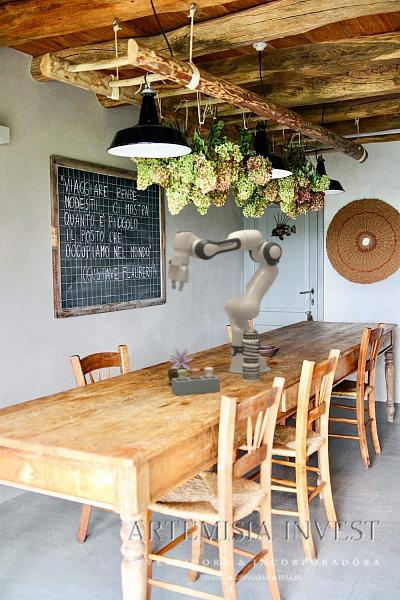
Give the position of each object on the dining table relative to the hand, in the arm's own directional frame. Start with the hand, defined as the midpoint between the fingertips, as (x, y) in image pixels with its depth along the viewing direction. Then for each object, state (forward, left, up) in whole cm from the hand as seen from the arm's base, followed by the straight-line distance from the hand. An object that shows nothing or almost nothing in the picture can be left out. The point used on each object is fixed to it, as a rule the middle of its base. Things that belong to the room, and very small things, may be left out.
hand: (176, 289), depth 311 cm
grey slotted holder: (+4, +35, -45) cm, 57 cm away
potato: (+6, +14, -45) cm, 47 cm away
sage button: (+10, +35, -41) cm, 55 cm away
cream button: (-3, +35, -41) cm, 54 cm away
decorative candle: (-30, +22, -45) cm, 58 cm away
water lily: (-8, -22, -45) cm, 51 cm away
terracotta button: (+4, +35, -41) cm, 54 cm away
